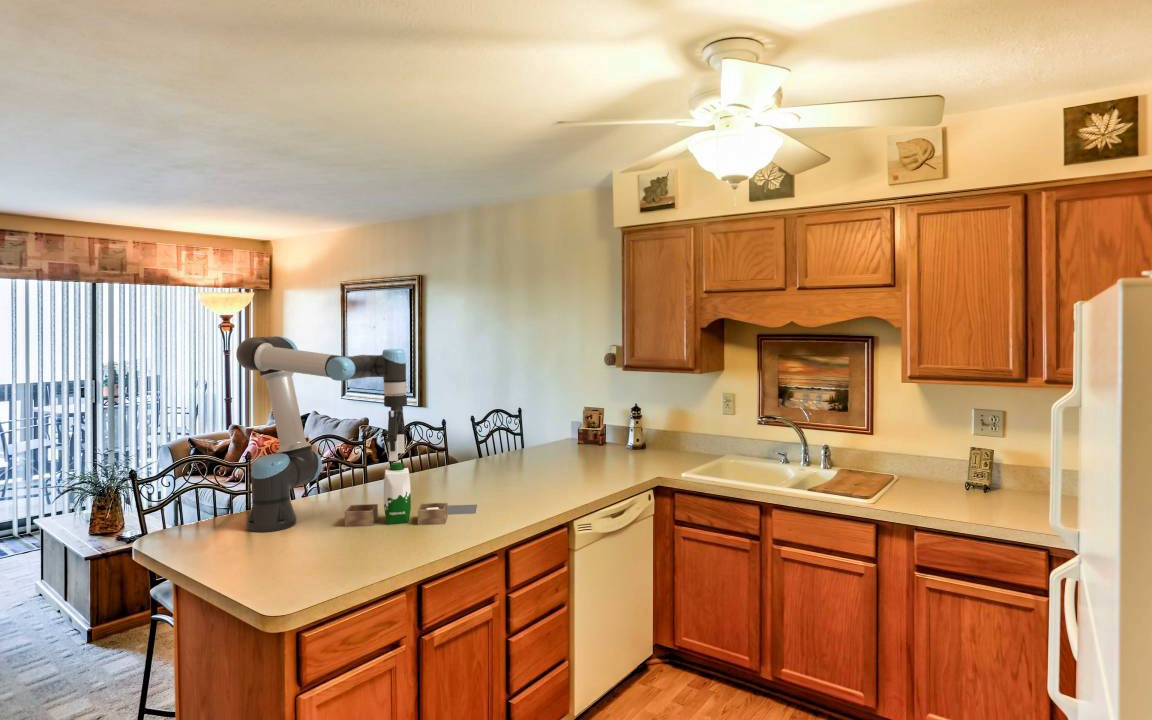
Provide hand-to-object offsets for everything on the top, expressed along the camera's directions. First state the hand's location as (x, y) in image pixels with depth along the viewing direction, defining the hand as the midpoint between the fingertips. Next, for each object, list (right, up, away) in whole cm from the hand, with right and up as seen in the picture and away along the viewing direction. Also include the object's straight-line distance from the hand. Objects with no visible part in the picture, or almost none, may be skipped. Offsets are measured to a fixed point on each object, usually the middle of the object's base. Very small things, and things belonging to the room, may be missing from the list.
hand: (397, 456), depth 223 cm
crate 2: (+12, -23, +1) cm, 26 cm away
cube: (+12, -22, +1) cm, 25 cm away
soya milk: (0, -23, +1) cm, 23 cm away
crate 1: (-12, -23, 0) cm, 26 cm away
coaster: (+19, -22, +15) cm, 32 cm away
